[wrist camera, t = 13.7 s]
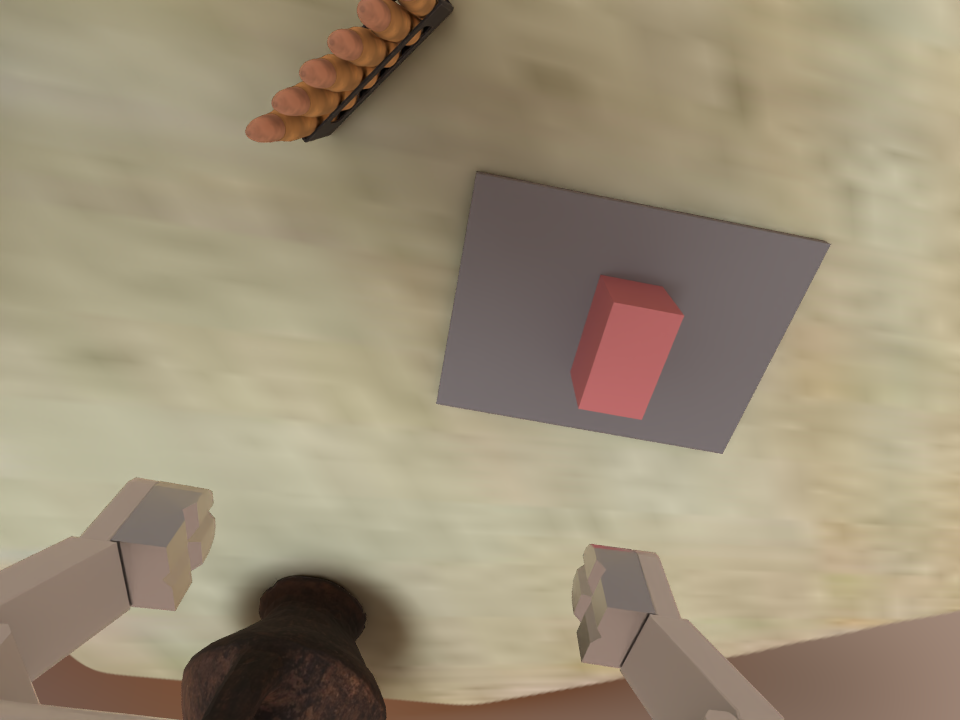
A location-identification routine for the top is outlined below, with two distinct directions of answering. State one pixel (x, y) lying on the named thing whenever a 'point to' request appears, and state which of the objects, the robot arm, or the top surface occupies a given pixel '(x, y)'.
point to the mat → (568, 297)
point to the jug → (287, 661)
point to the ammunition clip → (349, 69)
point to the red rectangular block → (624, 346)
